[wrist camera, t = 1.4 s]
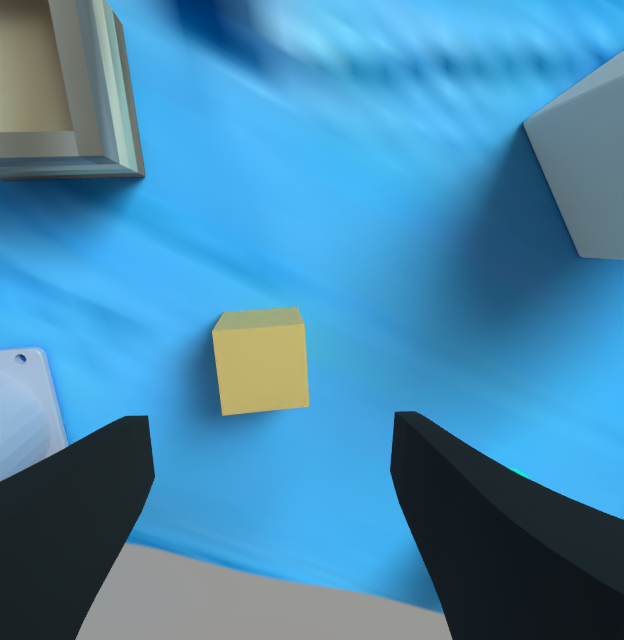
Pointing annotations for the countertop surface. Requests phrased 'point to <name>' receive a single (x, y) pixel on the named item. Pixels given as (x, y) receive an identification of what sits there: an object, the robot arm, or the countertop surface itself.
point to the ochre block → (261, 360)
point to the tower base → (65, 93)
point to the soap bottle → (586, 158)
